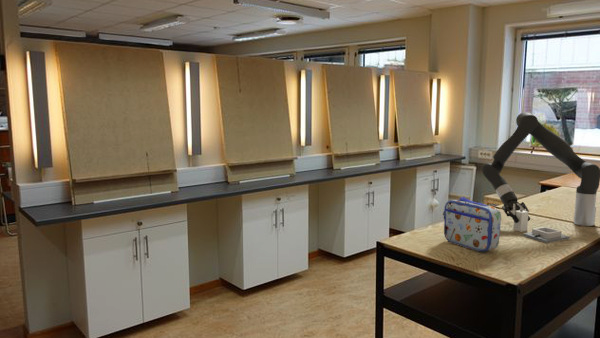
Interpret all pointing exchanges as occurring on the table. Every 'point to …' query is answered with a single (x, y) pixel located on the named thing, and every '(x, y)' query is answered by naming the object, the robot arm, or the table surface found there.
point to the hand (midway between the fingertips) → (523, 221)
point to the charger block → (521, 220)
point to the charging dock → (546, 235)
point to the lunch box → (472, 224)
